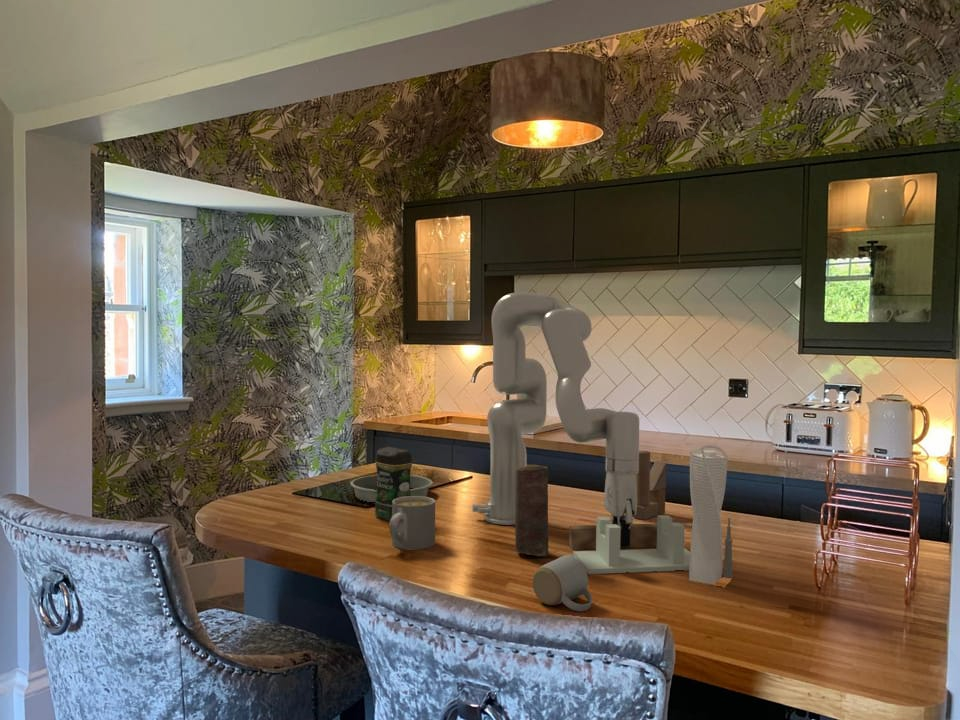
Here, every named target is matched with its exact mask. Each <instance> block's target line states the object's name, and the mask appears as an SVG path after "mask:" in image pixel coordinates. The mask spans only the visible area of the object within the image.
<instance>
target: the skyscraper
mask: <svg viewBox="0 0 960 720" xmlns="http://www.w3.org/2000/svg"><path fill="white" fill-rule="evenodd" d="M711 449H715V450H711ZM716 450H718V451H719V452H721V453H722V455H721V454H717V451H716ZM697 452H701V453H697ZM727 471H728V455H727V453H726V451H724V449H722V448H721V447H720V446H715V445H709V444H708V445H703V446H701V447H700V448H698V449H697V448H696V449H692V450H690V452H689V489H690V490H689V492H690V501H691V502H690V503H691V509H692V515H693V518H692V527H691V536H690V550H689V551H690V570H688V571H689V573H688V575H689V576H688V579H689V580H688V582H690V581H696V582H702V583H708V584H713V585H715V583H716V582H717V581H718V580H719V579H720V578H722V575H723V577H725V578H732V577H733V539H731V538H732V537H731V535H732V534H731V531H732V526H731V518H730V517H728V518H727V521H728V522H727V526H726V528H727V529H726V538H724V541H723V526H722V519H721V517H722V516H721V512H722V507H723V503H724V498H725V493H726V483H727ZM723 542H724V543H723ZM723 544H725V545H724V549H723ZM723 550H724V552H723ZM723 555H724V559H723Z"/></svg>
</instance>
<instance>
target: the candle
mask: <svg viewBox="0 0 960 720" xmlns="http://www.w3.org/2000/svg"><path fill="white" fill-rule="evenodd" d="M548 476H549V468H548V466H545V465H539V464H532V463H531V464H527V466H526V467H520V468H516V525H515V534H514V536H515V545H514V546H515V550H516V551H517V552H518V553H519V554H521V555H522V554H523V555H528V556H535V557H548V556H549V477H548Z"/></svg>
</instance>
